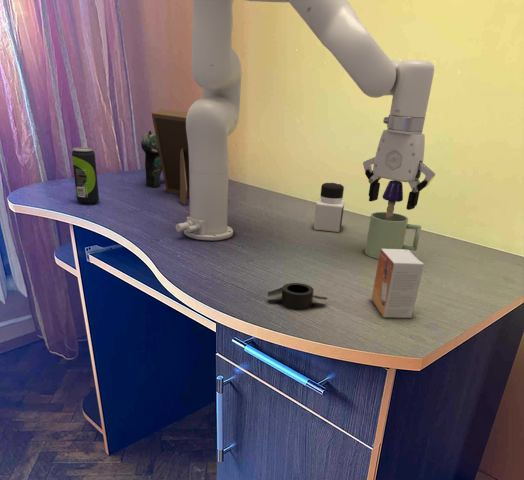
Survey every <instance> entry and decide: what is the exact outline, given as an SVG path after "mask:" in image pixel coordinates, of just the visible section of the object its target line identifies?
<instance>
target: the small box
mask: <svg viewBox="0 0 524 480" xmlns="http://www.w3.org/2000/svg"><path fill="white" fill-rule="evenodd" d="M424 266H425V263H423V262H422V261H420V260H419V258H418V257H417V256H415V255H414V254H413V252H412V251H411V250H404V249H381V250H380V256H379V259H378V262H377V268H376V273H375V277H374V282H373V289H372V294H371V299H370V300H371V301H372V302H373V304H374V305H375V307H376V309H377V310H378V312H379V313H380V315H381V317H382V318H403V319H411V318H412V317H413V314H414V309H415V305H416V301H417V297H418V292H419V287H420V284H421V279H422V275H423V271H424V268H425V267H424Z"/></svg>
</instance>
